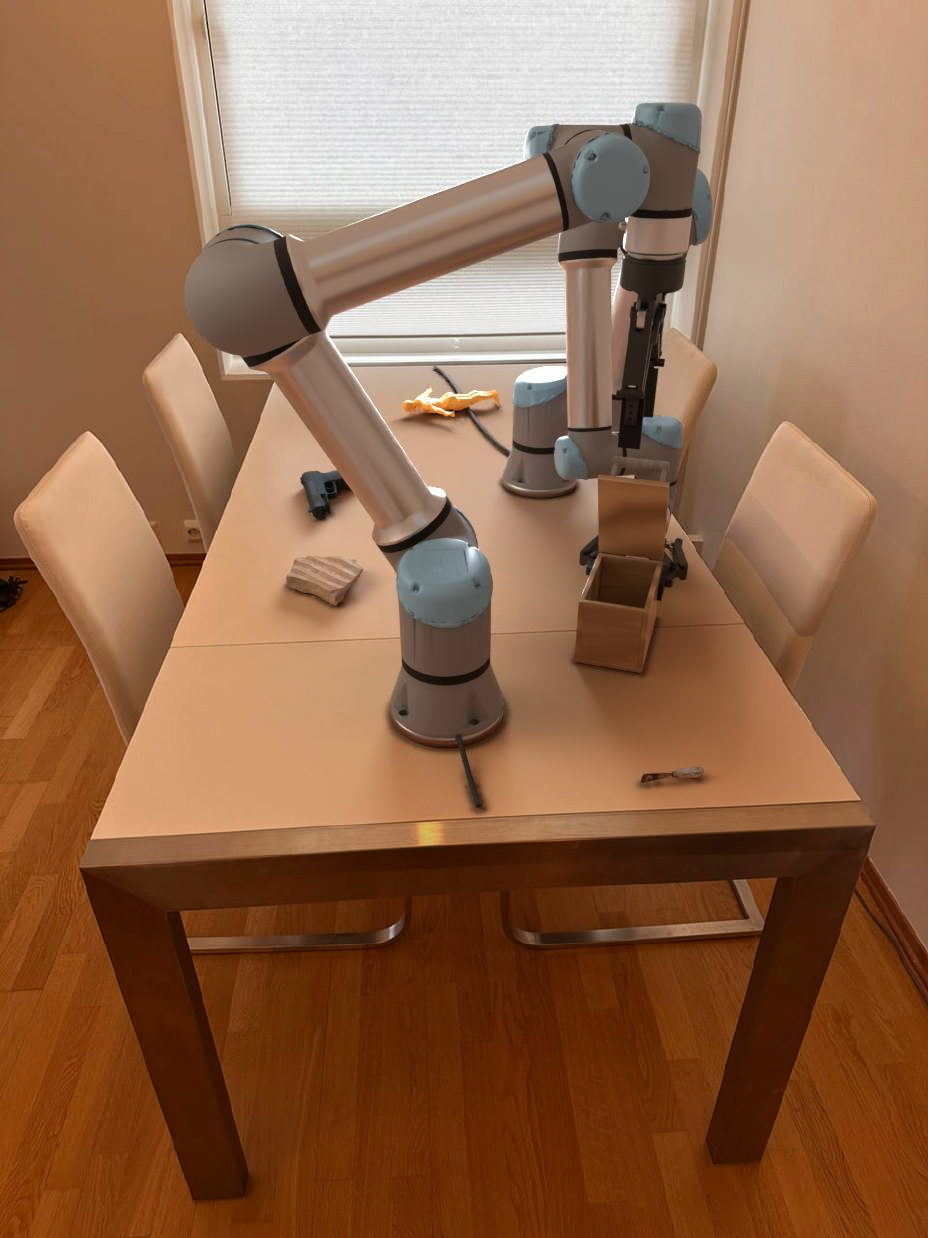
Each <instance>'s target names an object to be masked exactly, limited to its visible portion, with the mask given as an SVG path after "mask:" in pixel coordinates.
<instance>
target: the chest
mask: <svg viewBox="0 0 928 1238" xmlns="http://www.w3.org/2000/svg"><path fill="white" fill-rule="evenodd" d="M662 565H663V562H662V561H655V560H649V559H648V558H641V557H634V556H619V555H612V554H604V553H599V554H598V556H597V559H596V561H595V564H594V566H593V568H592V571H591V573H590V576H588V578H587V581H586V583H585V586H584V588H583V590H582V593H581V595H580V597H579V600H578V609H577V618H576V619H577V621H576V636H575V649H574V662H575V663H580V664H586V665H591V666H596V667H603V668H609V669H614V670H621V671H626V672H631V673H638V674H642V672H643V669H644V665H645V661H646V658H647V654H648V650H649V646H650V642H651V638H652V635H653V630H654V627H655V623H656V619H657V612H658V603H659V601H657V592H658V585H659V581H660V577H661V573H662Z"/></svg>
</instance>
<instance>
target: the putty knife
mask: <svg viewBox="0 0 928 1238" xmlns="http://www.w3.org/2000/svg"><path fill="white" fill-rule="evenodd" d="M704 772H705V771H704V768H702V767H701V766H697V765H695V766H688V767H683V768H679V769H675V770H673V771H671V772H653V773H652V772H651V773H650V772H649V773H644V774H642V776H641V779H640V783H642V784H645V783H648V782H653V781H659V780H665V779H668V778H673V779H674V778H675V779H693V778H694V779H695V778H700V777H702V776H703V775H704Z"/></svg>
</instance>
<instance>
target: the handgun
mask: <svg viewBox="0 0 928 1238" xmlns="http://www.w3.org/2000/svg"><path fill="white" fill-rule="evenodd" d="M299 480H300V484H301V485H302V486H303V490H304V493H305V495H306V499H307V502H308V505H309V508H310V509H308V510H307V511H308V512H307V513H310V514H312V515H311V516H312V517H313V518H314V519H315V520H321V519H326V516H327V514H328V515H331V506H330V501H331V500H335V499H337V498H338V493H339V492H343V491H348V490H351V489H350V487H349V486H348V485H347V483H346V482H345V480H344V479H343V477H342V476H341V475H340V473H339V472H338V470H337V469H335V470H330V471H327V472H321V471H319V470H309V471H305V472H303V473H302V474H301V476H300V477H299Z"/></svg>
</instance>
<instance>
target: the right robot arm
mask: <svg viewBox="0 0 928 1238" xmlns="http://www.w3.org/2000/svg"><path fill="white" fill-rule="evenodd" d="M713 207H714V205H713V197H712V190H711V186H710V183H709V181H708V178H707V176H706V174H705V173H704V172H703V171H702V170H701V169H699V168H698V167H697V174H696V181H695V188H694V195H693V202H692V212H691V215H692V220H691V228H690V236H689V245H688V250H687V251H686V252H685V253H683V254H682V255H683V256H684V257H685V259H686V260H687V256H688V252H689V249H690V247H691V246H695V247H698V246H699V245H702V244H703V243H705V242H706V241H707V239H708V237H709V235H710V233H711V229H712V223H713V212H714V211H713V210H714V209H713ZM621 222H626V219H624V220H621V221H618V222H614V223H597V222H594V221H593V222H591V223H588V224H585V225H582V226H579V227H577V228H574V229H571V230H567V231H564V232H561V233H559V235H558V241H557V266H559V268H560V269H561V270H562V271H563V273H564V275H563V277H564V311H565V312H564V314H565V315H564V317H565V318H564V319H565V321H564V322H565V323H564V324H565V358H566V359H565V361H566V362H565V363H566V365H565V366H561V365H559V366H554V365H548V366H547V365H546V366H541V367H535V368H532V369H529V370H527V371H525V372H523V373H522V374H520V375H519V376H518V377H517V378H516V380H515V382H514V385H513V395H512V400H511V402H512V431H511V432H512V439H511V440H512V441H511V442H512V443H511V449H510V450H509V449H508V448H507V447H505V446H504V445H502V444H501V443H500V442H499V441H497V440H496V439H495V438H494V436H492V435H491V434H490V433H489V431H488V430H486V429H485V427H484V426H483V424H482V423H480V421H479V420H478V418H477V416H475V414H474V413H473V411H472V409H471V407H470V406H469V407H467V408H465V409H466V411H467V412H468V414H469V416H470V417H471V418H472V420H473V422H474V423H475V424H476V425H477V427H478V428H479V429H480V431H482V432H483V434H484V435H485V436H486V437H487V438H488V439H489V440H490V441H491V442H492V443H493V444H494V445H495V446H497V448H499V449H501V451H503V452H505V453H506V454H507V455H508V458H507V460H506V463H505V467H504V469H503V473H502V485H503V487H504V488H505V489H506V490H508V491H509V492H511V493H513V494H515V495H519V496H522V497H527V498H538V499H540V498H541V499H543V498H544V499H545V498H554V497H561V496H563V495H566V494H568V493H570V492H572V491H573V490H574V489H575V488H576V483H577V480H583V481H588V480H595V479H598V476H599V475H607V476H610V475H611V472H612V468H613V458H614V456H619V457H629V458H638V459H647V460H656V461H665V462H670V464H669V471H668V473H667V474H666V478H665V482H668V483H670V487H669V499H668V511H667V523H666V534H667V533H668V529H669V526H670V523H671V518H672V514H673V511H674V509H675V507H676V504H677V498H678V493H677V488H678V475H679V473H678V472H679V468H680V462H681V457H682V456H681V455H682V450H683V441H684V440H683V439H684V425H683V423H682V422H681V421H680V420H679V419H677V418H675V417H674V416H670V415H664V414H653V418H651V417H643V425H642V435H641V444H640V449H630V448H620V447H618V438H619V427H620V416H621V405H622V397H616V392H617V390H620V389H621V387H622V380H623V373H624V365H625V358H626V351H627V344H628V334H629V328H630V310H631V306H634V302H637V298H638V294H637V293H635V292H634V291H632V292H630V291H627V290H624V289H623V288H622V287H621V286H620V274H619V276H618V280H617V282H616V287H615V291H614V295H613V298H612V268H613V267H614V266H615V265H616V264H617V262H618V261H619V259H618V250H619V252H620V253H621V255H622V257H624V255H625V254H627V253H628V252H627V251H625V250H624V249H623V243H624V235H625V234H626V231H622V230H620V228H619V225H620V223H621ZM620 272H621V270H620V271H619V273H620ZM433 368H435V370H437V371H438V372H439V373H440V374H441V375H442V376H443V377H444V378H445V379H446V380H447V381H448V382H449V383H450V385H451V386H452V387H453V389H454V390H455V392H456V394H462V393H461V391H460V389H459V388H458V386H457V385H456V383H455V382H454V381H453V380H452V378H450V376H449V375H448V374H447V373H446V372H445V371H444V370H443V369H441V368H440V367H439V366H438V365H437V364H434V366H433ZM629 387H636V386H630V385H629ZM627 476H634V477H633V479H642V480H651V481H660V476H661V472H656V471H647V470H638V469H629V468H620V467H618V470H617V474H616V477H627ZM666 536H667V535H666ZM666 536H665V548H664V558H663V560H656V559H648V560H655V561H662V562H663V565H662V573H661V577H660V581H659V585H658V592H657V601H658V602H662V600H663V595H664V592H665V588H668V589H671V588H673V587H674V581H675V579H679V580H680V581H686V580H687V578H688V570H689V563H688V560H687V558H686V554H685V552H684V550H683V549H684V548H683V543H684V540H683V538H680V537H678V538H675V539H674V540H671V541H670V540H667V537H666ZM665 549H667V551H668V552H669V555H668V553H667V552H666V551H665ZM599 553H604V554H612V553H605V552H599V536H598V534H597V535H596V536H595V537H594V538H592V539H591V540H590V541H589V542H588V543H587V544H585V545H584V546H583V547H582V548H581V549H580V550H579V557H578V558H579V559H578V560H579V561H578V565H579V566H582V567H583V566H585V576H588V577H589V576H590V573H591V571H592V568H593V566H594V564H595V561H596V559H597V556H598V554H599ZM612 555H619V554H612ZM619 556H626V557H628V556H627V555H619ZM670 556H671V557H670Z"/></svg>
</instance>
